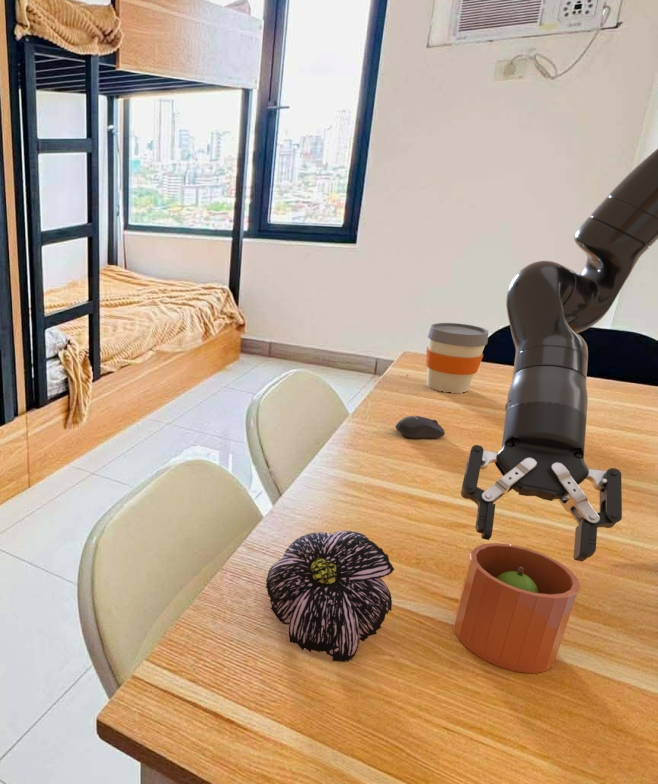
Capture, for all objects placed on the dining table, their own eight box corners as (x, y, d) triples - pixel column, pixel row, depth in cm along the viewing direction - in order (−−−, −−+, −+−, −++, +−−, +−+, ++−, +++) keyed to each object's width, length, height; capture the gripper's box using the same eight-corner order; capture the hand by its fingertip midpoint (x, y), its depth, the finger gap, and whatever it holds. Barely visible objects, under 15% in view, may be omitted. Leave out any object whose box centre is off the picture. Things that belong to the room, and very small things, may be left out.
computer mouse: (448, 439, 126) (452, 421, 125) (404, 440, 126) (407, 422, 125) (431, 428, 132) (435, 410, 130) (389, 429, 131) (392, 412, 130)
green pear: (539, 636, 73) (559, 568, 70) (526, 659, 69) (546, 588, 66) (483, 612, 77) (499, 547, 74) (467, 633, 73) (484, 565, 70)
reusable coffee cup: (410, 386, 156) (421, 328, 151) (429, 376, 164) (440, 320, 159) (466, 399, 148) (480, 338, 143) (483, 387, 156) (496, 328, 151)
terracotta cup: (564, 641, 73) (588, 569, 69) (543, 688, 66) (568, 610, 63) (468, 601, 80) (485, 533, 76) (440, 639, 73) (458, 567, 70)
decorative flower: (238, 546, 74) (335, 490, 78) (235, 597, 82) (323, 543, 86) (330, 648, 64) (436, 577, 68) (317, 695, 72) (413, 629, 76)
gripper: (478, 389, 73) (460, 521, 68) (636, 410, 66) (630, 558, 61) (468, 417, 79) (451, 539, 74) (611, 438, 73) (604, 575, 67)
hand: (532, 548), depth 67 cm, fingers open, 8 cm apart
